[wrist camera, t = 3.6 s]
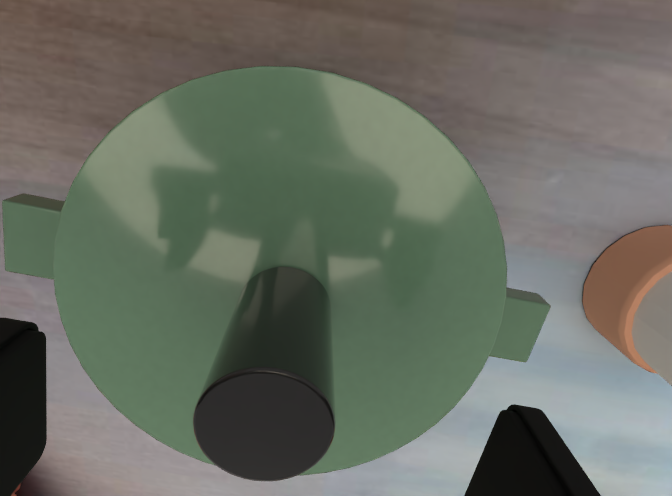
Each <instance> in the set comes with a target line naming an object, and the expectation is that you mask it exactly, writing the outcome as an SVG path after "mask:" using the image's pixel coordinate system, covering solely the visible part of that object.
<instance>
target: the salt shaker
mask: <svg viewBox="0 0 672 496" xmlns="http://www.w3.org/2000/svg"><path fill="white" fill-rule="evenodd" d="M582 302H583V306H584V310H585V314H586V317H587V319H588V320H589V321H590V323H591V324H592V325H593V327H594V328H595V329H596V330H597V331H598V332H599V333H600V334H601V335H602V336H604V337H605V338H606V339H607V340H608V341H609V342H610V343H612V344H613V345H614V346H615V347H616V348H617V349H618V350H620V351H621V352H622V353H623V354H624V355H625V356H626V357H628V358H629V359H630V360H631V361H632V362H633V363H635V364H637V365H638V366H640V367H642V368H644V369H645V370H647V371H649V372H652V373H657V374H659V375H660V376H661V377H662V378H663V379H665V380H666V381H667V382H668V383H669V384H670V385H671V386H672V226H669V225H664V226H654V227H646V228H643V229H640V230H638V231H635V232H633V233H630V234H628V235H625V236H624V237H622V238H621V239H620V240H618V241H617V242H615V243H614V244H613V245H611V246H610V247H608V248H607V249H606V250H605V251H604V253H603V254H602V255H601V256H600V257H599V258H598V260H597V261H596V262H595V263H594V264H593V266H592V268H591V270H590V272H589V275H588V277H587V279H586V281H585V283H584V291H583V300H582Z"/></svg>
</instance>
